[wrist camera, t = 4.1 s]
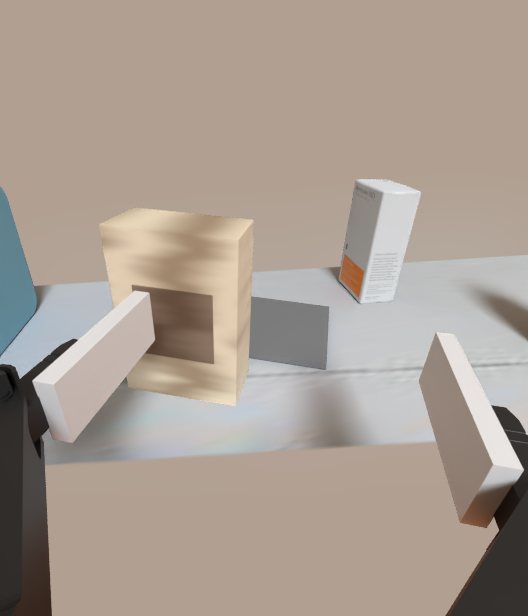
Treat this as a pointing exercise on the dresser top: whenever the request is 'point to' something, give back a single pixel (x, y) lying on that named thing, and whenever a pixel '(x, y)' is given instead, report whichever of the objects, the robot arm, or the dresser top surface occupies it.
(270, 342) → the charcoal mat
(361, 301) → the skincare box
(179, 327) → the maple block
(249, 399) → the dresser top surface
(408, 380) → the dresser top surface
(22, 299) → the data package
